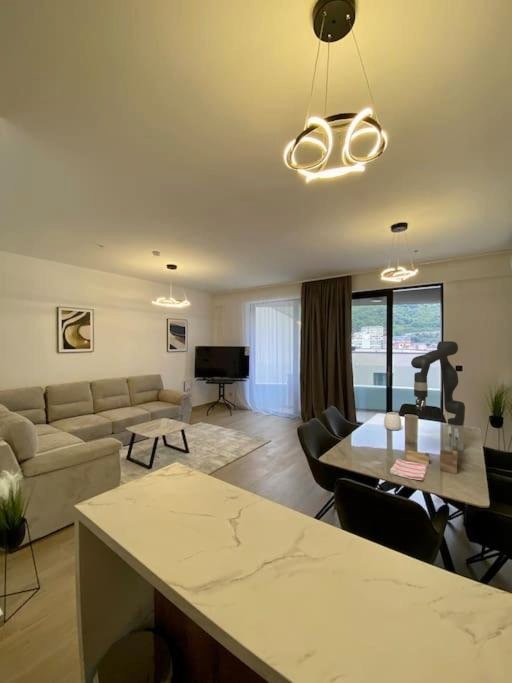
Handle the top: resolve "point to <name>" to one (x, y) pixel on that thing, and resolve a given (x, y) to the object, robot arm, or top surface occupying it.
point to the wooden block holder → (449, 460)
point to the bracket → (456, 439)
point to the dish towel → (409, 470)
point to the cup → (392, 421)
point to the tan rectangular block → (418, 457)
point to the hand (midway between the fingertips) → (420, 414)
